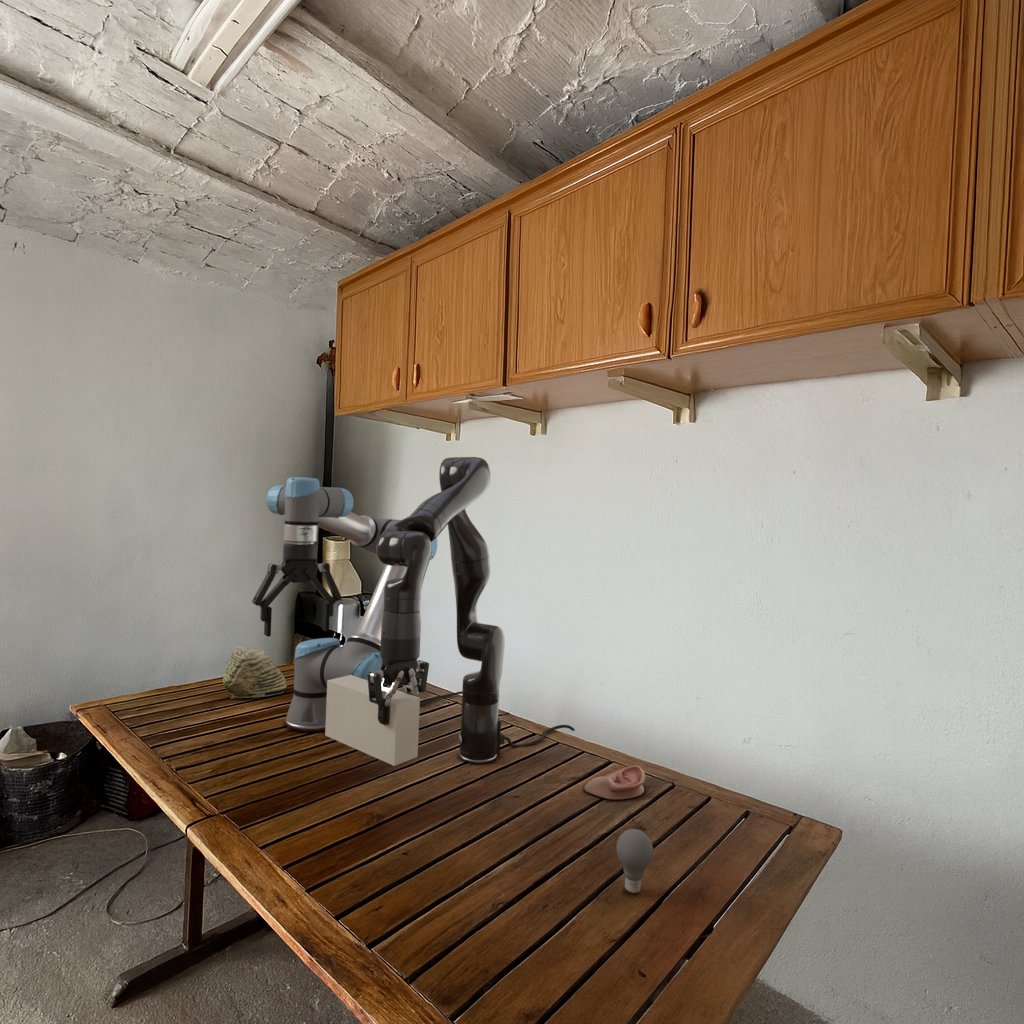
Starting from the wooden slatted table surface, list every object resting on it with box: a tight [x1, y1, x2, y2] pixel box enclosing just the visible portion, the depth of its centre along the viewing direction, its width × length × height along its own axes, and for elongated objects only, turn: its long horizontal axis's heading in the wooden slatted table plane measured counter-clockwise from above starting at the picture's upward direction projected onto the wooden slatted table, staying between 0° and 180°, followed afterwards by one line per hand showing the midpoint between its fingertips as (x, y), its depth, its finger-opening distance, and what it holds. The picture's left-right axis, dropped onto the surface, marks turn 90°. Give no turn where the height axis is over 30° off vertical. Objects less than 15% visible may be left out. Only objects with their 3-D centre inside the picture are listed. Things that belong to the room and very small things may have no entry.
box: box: [324, 675, 421, 767], centre depth 127 cm, size 22×6×12 cm, turn 52°
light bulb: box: [615, 828, 654, 894], centre depth 106 cm, size 6×6×10 cm
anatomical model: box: [584, 765, 646, 800], centre depth 143 cm, size 13×4×12 cm
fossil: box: [222, 646, 288, 699], centre depth 198 cm, size 9×18×15 cm, turn 132°
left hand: (297, 632), depth 149 cm, fingers open, 13 cm apart
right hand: (397, 719), depth 123 cm, fingers closed on box, 6 cm apart
